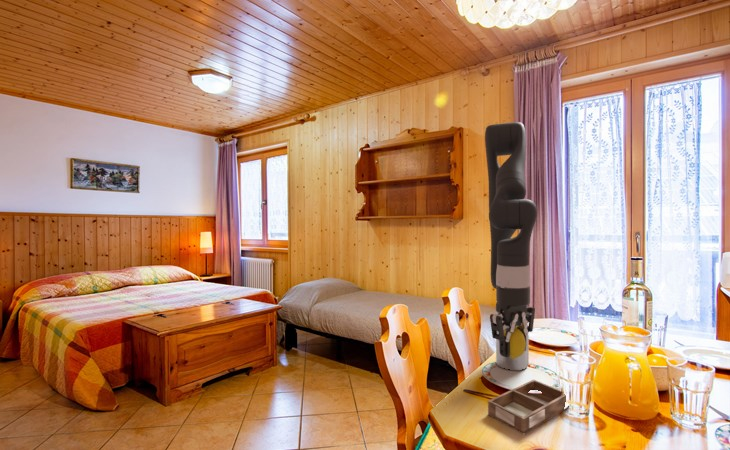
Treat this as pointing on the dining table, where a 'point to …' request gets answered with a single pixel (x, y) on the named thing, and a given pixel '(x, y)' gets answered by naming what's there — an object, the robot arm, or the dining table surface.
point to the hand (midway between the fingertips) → (513, 352)
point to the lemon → (516, 343)
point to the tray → (527, 406)
